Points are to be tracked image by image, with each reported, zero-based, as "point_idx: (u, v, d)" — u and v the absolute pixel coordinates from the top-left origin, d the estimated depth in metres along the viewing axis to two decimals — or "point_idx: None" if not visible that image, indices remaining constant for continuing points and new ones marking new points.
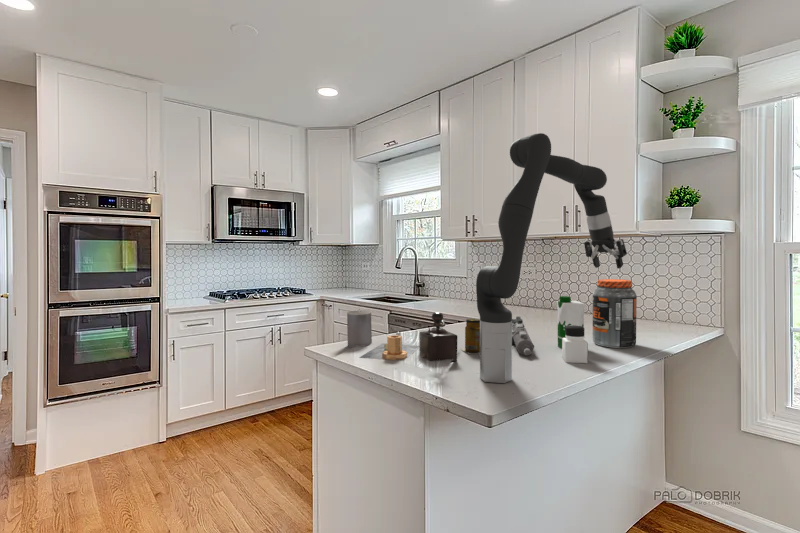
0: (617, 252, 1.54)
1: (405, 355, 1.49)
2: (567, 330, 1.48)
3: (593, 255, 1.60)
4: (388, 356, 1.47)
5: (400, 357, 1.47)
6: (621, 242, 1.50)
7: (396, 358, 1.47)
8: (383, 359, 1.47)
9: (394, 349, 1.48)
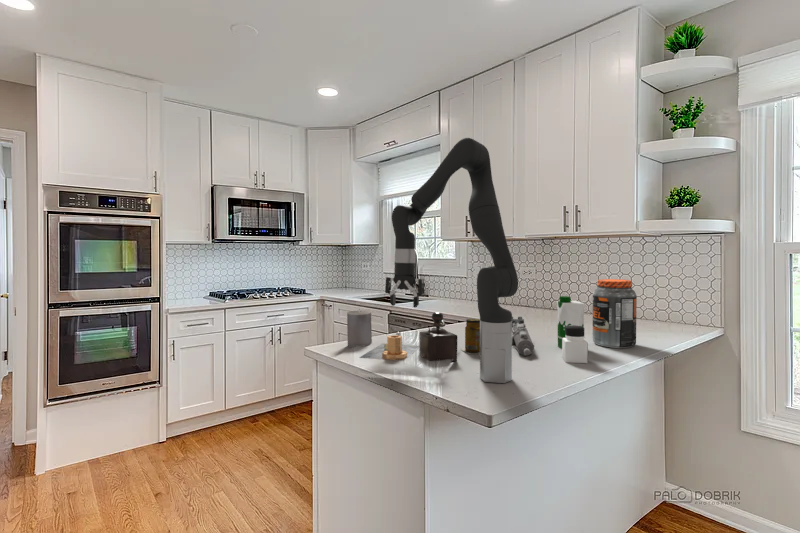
0: (415, 291, 1.56)
1: (405, 355, 1.49)
2: (567, 330, 1.48)
3: (392, 291, 1.57)
4: (388, 356, 1.47)
5: (400, 357, 1.47)
6: (422, 280, 1.54)
7: (396, 358, 1.47)
8: (383, 359, 1.47)
9: (394, 349, 1.48)
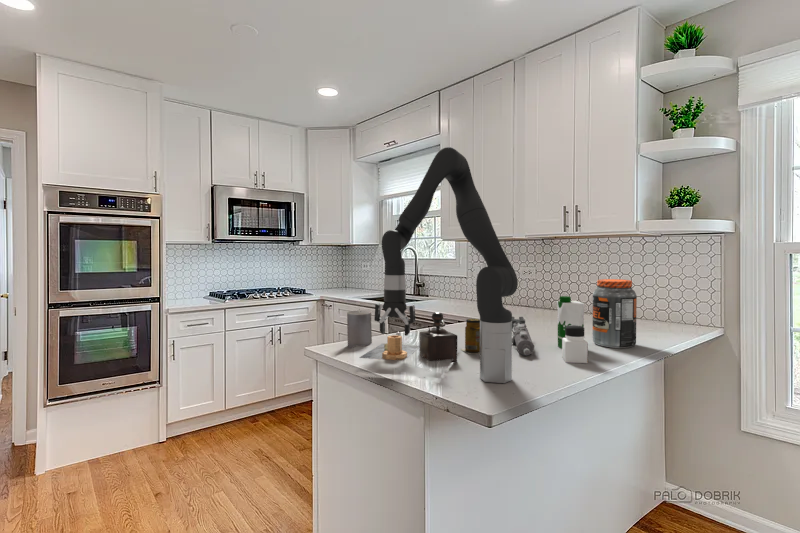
0: (406, 318, 1.50)
1: (405, 355, 1.49)
2: (567, 330, 1.48)
3: (382, 319, 1.51)
4: (388, 356, 1.47)
5: (400, 357, 1.47)
6: (413, 307, 1.48)
7: (396, 358, 1.47)
8: (383, 359, 1.47)
9: (394, 349, 1.48)
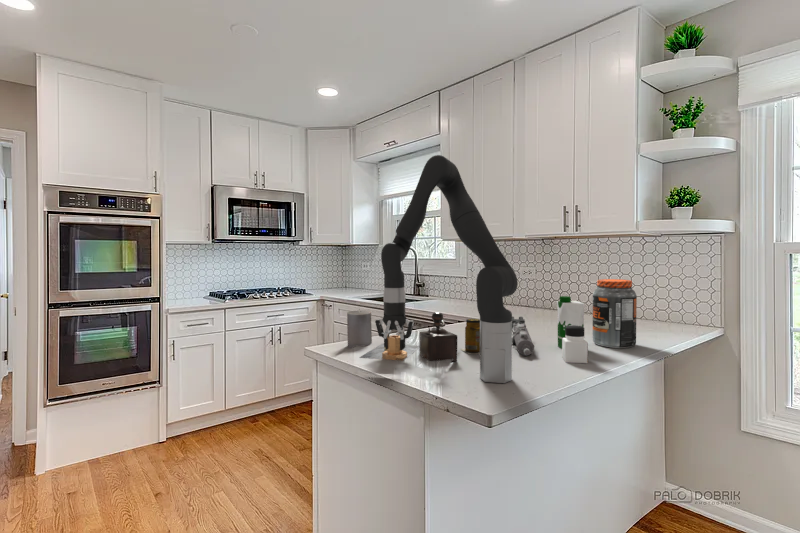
0: (403, 333, 1.50)
1: (405, 355, 1.49)
2: (567, 330, 1.48)
3: (386, 334, 1.50)
4: (388, 356, 1.47)
5: (400, 357, 1.47)
6: (412, 323, 1.48)
7: (396, 358, 1.47)
8: (383, 359, 1.47)
9: (394, 349, 1.48)
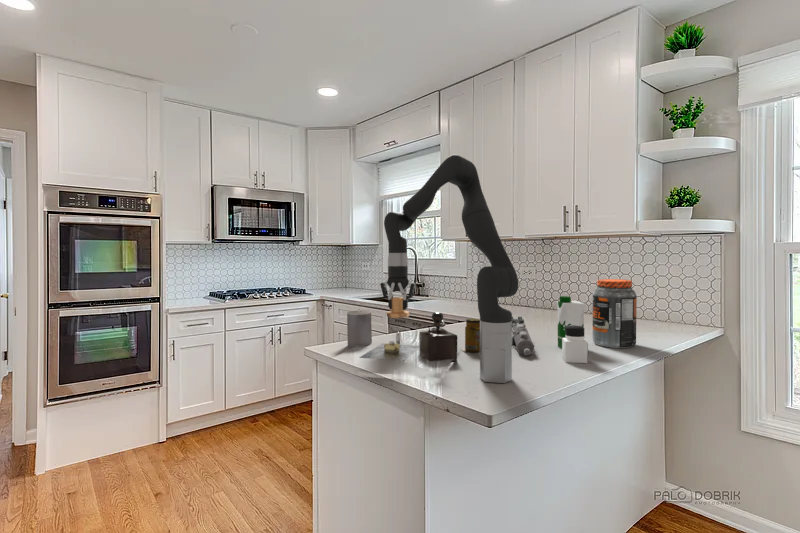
0: None
1: (407, 314, 1.64)
2: (567, 330, 1.48)
3: (390, 295, 1.65)
4: (392, 315, 1.62)
5: (403, 315, 1.62)
6: (414, 285, 1.63)
7: (399, 316, 1.62)
8: (383, 359, 1.47)
9: (398, 309, 1.63)
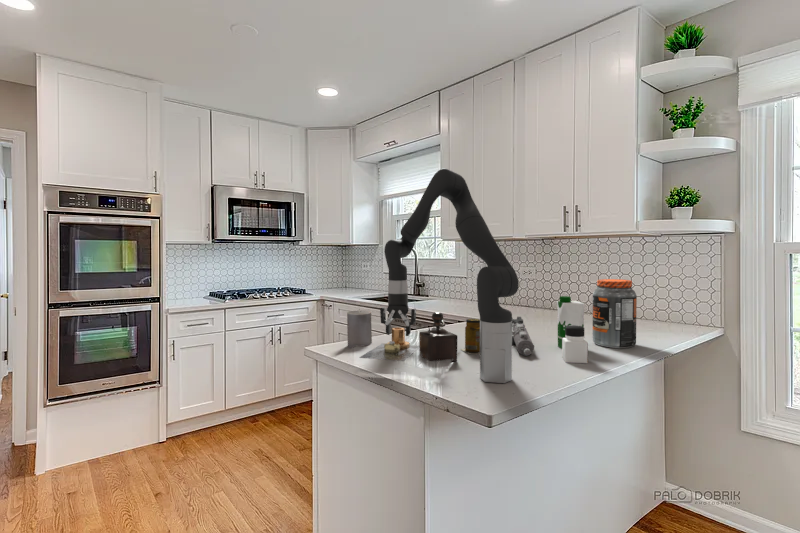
0: None
1: (408, 345, 1.65)
2: (567, 330, 1.48)
3: (387, 321, 1.66)
4: None
5: (403, 347, 1.63)
6: (415, 311, 1.64)
7: None
8: (383, 359, 1.47)
9: (398, 340, 1.64)
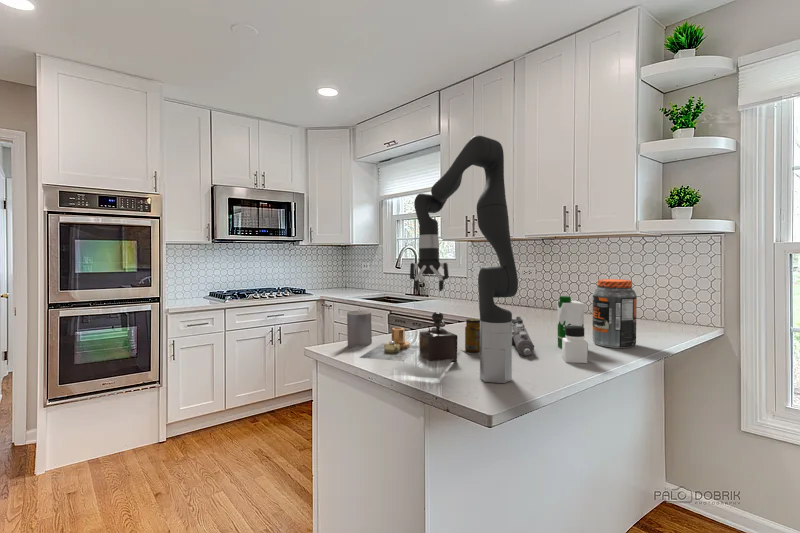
0: None
1: (408, 345, 1.65)
2: (567, 330, 1.48)
3: (417, 277, 1.62)
4: None
5: (403, 347, 1.63)
6: (447, 264, 1.60)
7: None
8: (383, 359, 1.47)
9: (398, 340, 1.64)
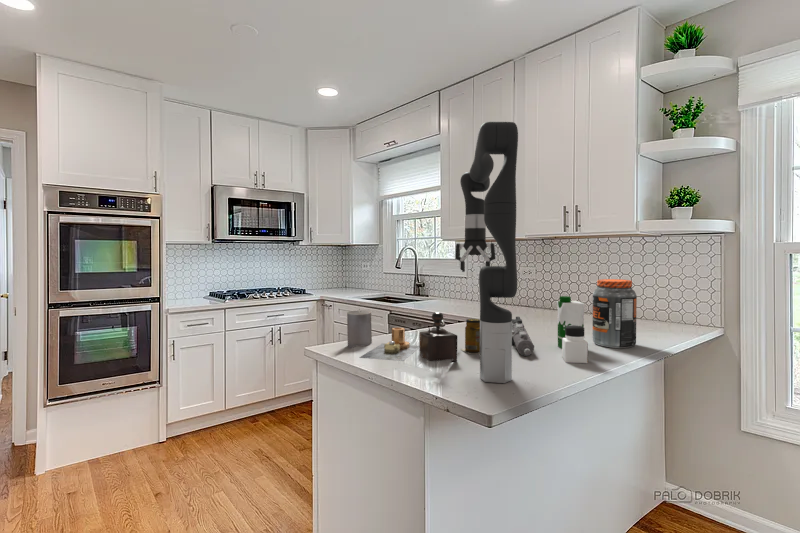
0: None
1: (408, 345, 1.65)
2: (567, 330, 1.48)
3: (463, 258, 1.59)
4: None
5: (403, 347, 1.63)
6: (494, 245, 1.56)
7: None
8: (383, 359, 1.47)
9: (398, 340, 1.64)
